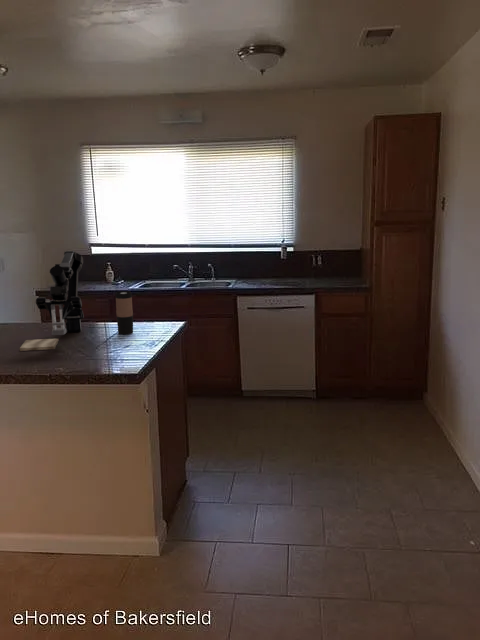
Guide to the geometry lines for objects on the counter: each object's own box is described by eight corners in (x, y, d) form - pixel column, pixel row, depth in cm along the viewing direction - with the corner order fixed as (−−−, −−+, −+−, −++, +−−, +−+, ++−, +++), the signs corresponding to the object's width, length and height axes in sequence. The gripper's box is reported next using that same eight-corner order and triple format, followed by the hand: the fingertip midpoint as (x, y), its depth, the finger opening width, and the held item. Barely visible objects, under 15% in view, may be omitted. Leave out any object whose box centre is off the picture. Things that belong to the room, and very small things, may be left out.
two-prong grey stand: (66, 332, 233) (64, 303, 230) (64, 334, 228) (61, 305, 225) (54, 332, 232) (51, 303, 229) (51, 335, 228) (49, 305, 225)
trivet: (58, 341, 242) (58, 338, 241) (54, 349, 228) (53, 346, 228) (26, 342, 239) (26, 340, 239) (19, 350, 226) (19, 348, 225)
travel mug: (114, 333, 254) (111, 292, 250) (124, 330, 261) (122, 290, 257) (126, 335, 251) (124, 294, 246) (136, 332, 257) (134, 291, 253)
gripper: (34, 279, 228) (29, 309, 220) (78, 278, 230) (75, 308, 221) (41, 294, 237) (36, 323, 229) (83, 293, 239) (80, 322, 231)
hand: (57, 319), depth 227 cm, fingers closed on two-prong grey stand, 4 cm apart
